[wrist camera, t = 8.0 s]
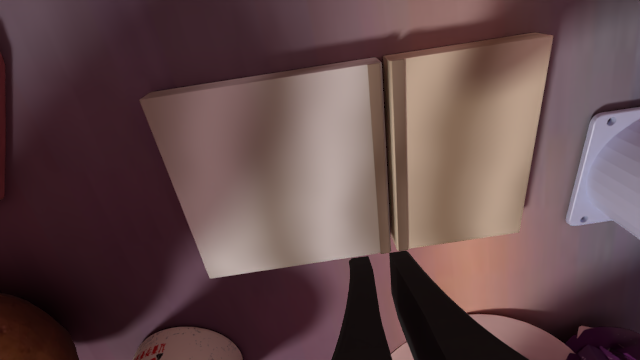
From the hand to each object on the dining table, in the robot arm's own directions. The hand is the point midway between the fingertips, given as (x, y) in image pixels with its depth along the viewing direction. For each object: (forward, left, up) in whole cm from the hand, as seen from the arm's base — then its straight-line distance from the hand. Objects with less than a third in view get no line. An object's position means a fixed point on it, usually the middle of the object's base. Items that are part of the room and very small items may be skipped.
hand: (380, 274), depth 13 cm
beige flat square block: (+4, 0, -9) cm, 10 cm away
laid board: (-6, 0, -9) cm, 11 cm away
